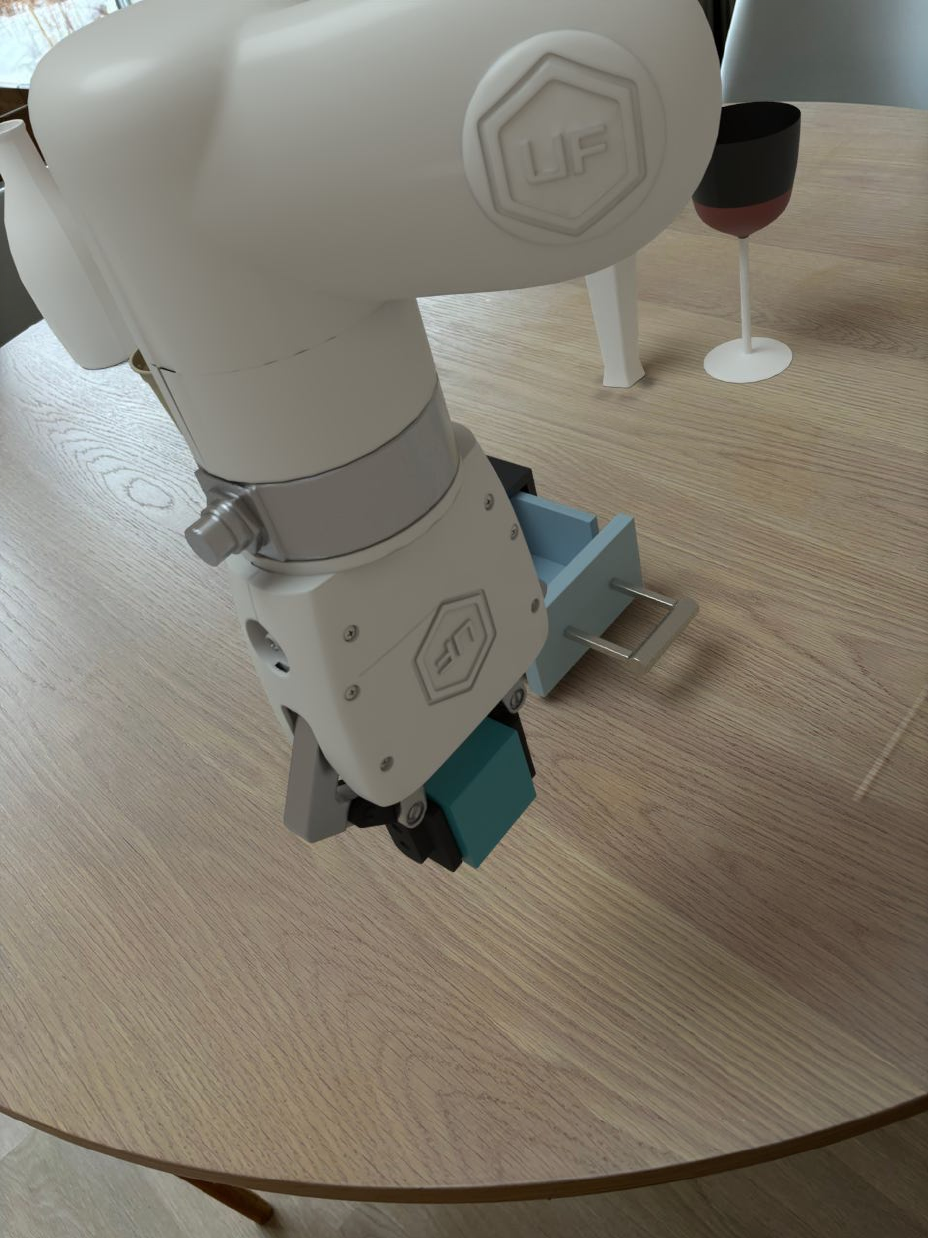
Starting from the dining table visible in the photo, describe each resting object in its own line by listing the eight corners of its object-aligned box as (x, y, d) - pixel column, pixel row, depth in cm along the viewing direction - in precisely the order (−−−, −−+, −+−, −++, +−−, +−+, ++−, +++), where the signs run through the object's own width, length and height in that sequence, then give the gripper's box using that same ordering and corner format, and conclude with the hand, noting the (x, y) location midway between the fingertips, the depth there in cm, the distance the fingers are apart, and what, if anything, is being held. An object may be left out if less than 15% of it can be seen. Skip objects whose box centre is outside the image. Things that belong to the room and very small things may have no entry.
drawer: (724, 617, 66) (720, 543, 62) (626, 736, 61) (614, 664, 56) (494, 534, 77) (477, 467, 73) (394, 627, 72) (370, 561, 68)
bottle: (56, 383, 116) (-69, 158, 99) (82, 337, 125) (-30, 122, 108) (147, 364, 115) (36, 132, 98) (167, 318, 123) (67, 97, 106)
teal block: (538, 796, 43) (517, 730, 40) (476, 870, 41) (450, 806, 38) (463, 757, 45) (439, 692, 42) (402, 826, 43) (372, 763, 40)
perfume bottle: (586, 378, 92) (561, 217, 82) (626, 358, 93) (606, 197, 83) (614, 397, 89) (591, 232, 79) (655, 376, 90) (638, 211, 80)
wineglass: (705, 336, 93) (690, 108, 80) (804, 334, 90) (806, 95, 76) (689, 384, 88) (670, 149, 75) (793, 383, 85) (794, 136, 71)
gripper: (202, 684, 25) (404, 1018, 37) (590, 336, 32) (651, 707, 45) (46, 594, 29) (273, 919, 41) (421, 306, 37) (518, 651, 49)
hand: (468, 806), depth 43 cm, fingers closed on teal block, 4 cm apart
